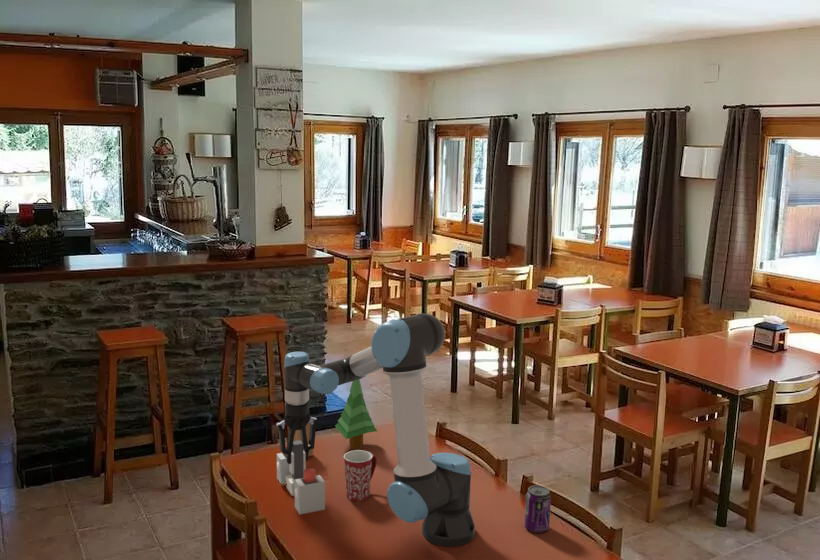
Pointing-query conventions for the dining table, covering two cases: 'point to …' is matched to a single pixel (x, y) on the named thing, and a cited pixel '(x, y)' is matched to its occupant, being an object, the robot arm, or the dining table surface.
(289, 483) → the dark grey tall block
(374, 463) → the mug
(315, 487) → the near cabinet
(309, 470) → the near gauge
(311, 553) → the dining table surface
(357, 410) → the decorative tree
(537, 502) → the beverage can
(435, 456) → the robot arm
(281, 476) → the far cabinet
